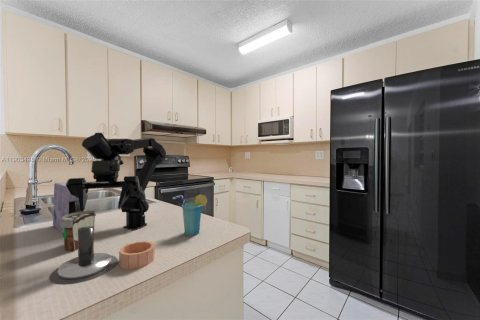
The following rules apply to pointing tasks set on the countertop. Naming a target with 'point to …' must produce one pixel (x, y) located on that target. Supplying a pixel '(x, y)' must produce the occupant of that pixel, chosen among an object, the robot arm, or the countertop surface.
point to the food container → (75, 227)
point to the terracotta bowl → (136, 254)
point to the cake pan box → (63, 204)
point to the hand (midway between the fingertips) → (100, 209)
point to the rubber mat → (57, 280)
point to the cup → (192, 214)
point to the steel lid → (85, 258)
